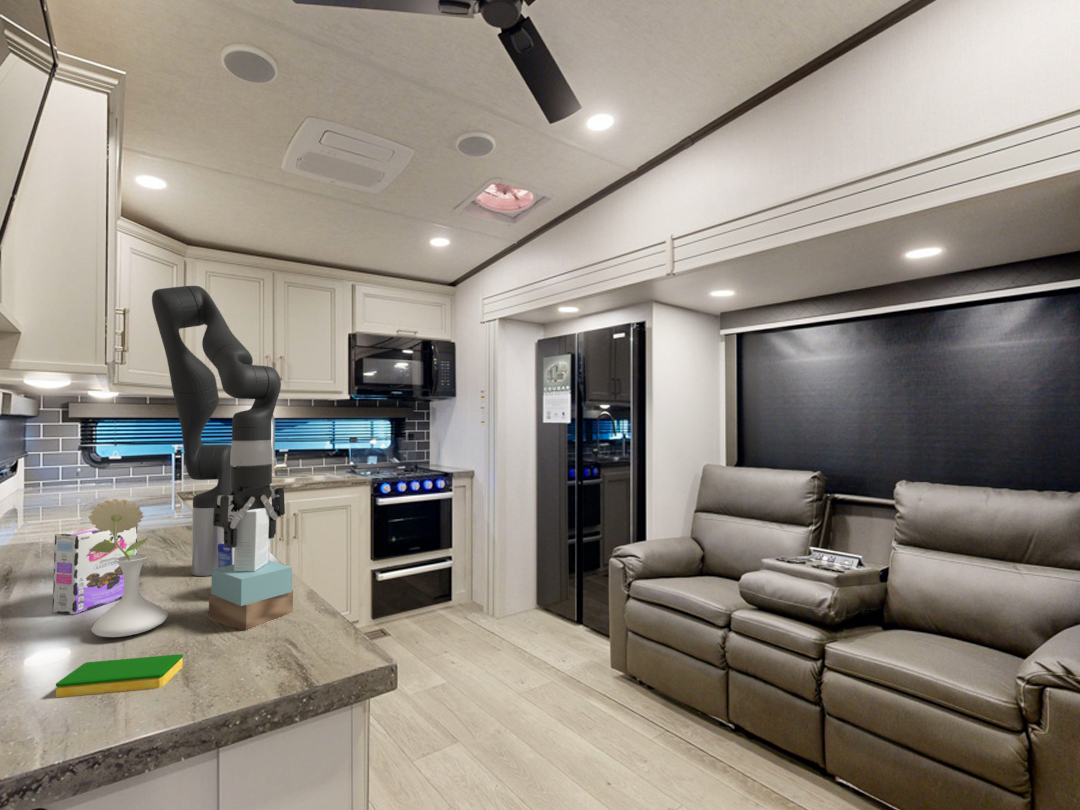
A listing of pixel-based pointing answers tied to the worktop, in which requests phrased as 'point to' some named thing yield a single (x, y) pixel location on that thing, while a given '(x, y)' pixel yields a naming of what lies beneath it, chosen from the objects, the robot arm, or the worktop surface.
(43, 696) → the worktop surface
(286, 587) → the tower top block
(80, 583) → the candy box
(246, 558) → the skincare box
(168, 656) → the dish sponge
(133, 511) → the flower in vase
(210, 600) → the tower base block
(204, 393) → the robot arm
